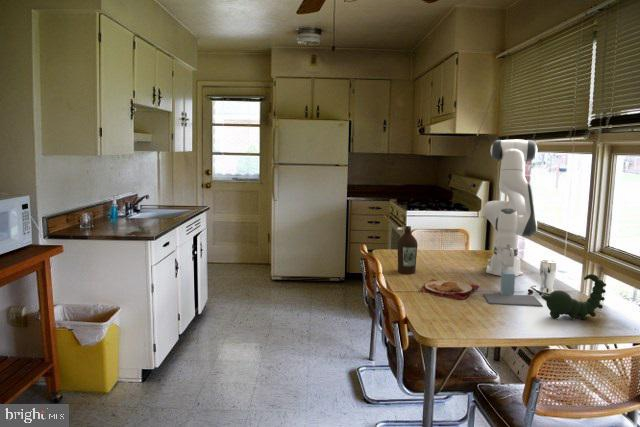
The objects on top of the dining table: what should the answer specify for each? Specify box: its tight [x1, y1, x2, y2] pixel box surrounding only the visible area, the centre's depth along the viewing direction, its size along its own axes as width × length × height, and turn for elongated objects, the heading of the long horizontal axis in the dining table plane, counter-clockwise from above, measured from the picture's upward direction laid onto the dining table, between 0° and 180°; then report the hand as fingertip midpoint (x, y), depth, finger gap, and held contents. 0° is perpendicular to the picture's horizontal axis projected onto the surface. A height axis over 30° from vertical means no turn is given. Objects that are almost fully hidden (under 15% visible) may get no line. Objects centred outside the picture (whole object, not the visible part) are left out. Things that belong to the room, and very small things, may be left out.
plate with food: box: [418, 279, 480, 300], centre depth 236 cm, size 24×26×4 cm
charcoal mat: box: [483, 292, 544, 308], centre depth 220 cm, size 14×22×1 cm, turn 82°
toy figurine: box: [540, 273, 607, 321], centre depth 197 cm, size 9×19×25 cm
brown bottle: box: [396, 225, 418, 275], centre depth 268 cm, size 11×11×25 cm
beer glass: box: [539, 259, 557, 295], centre depth 232 cm, size 7×7×15 cm
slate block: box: [499, 271, 516, 295], centre depth 230 cm, size 5×5×10 cm
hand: (504, 272), depth 236 cm, fingers closed
